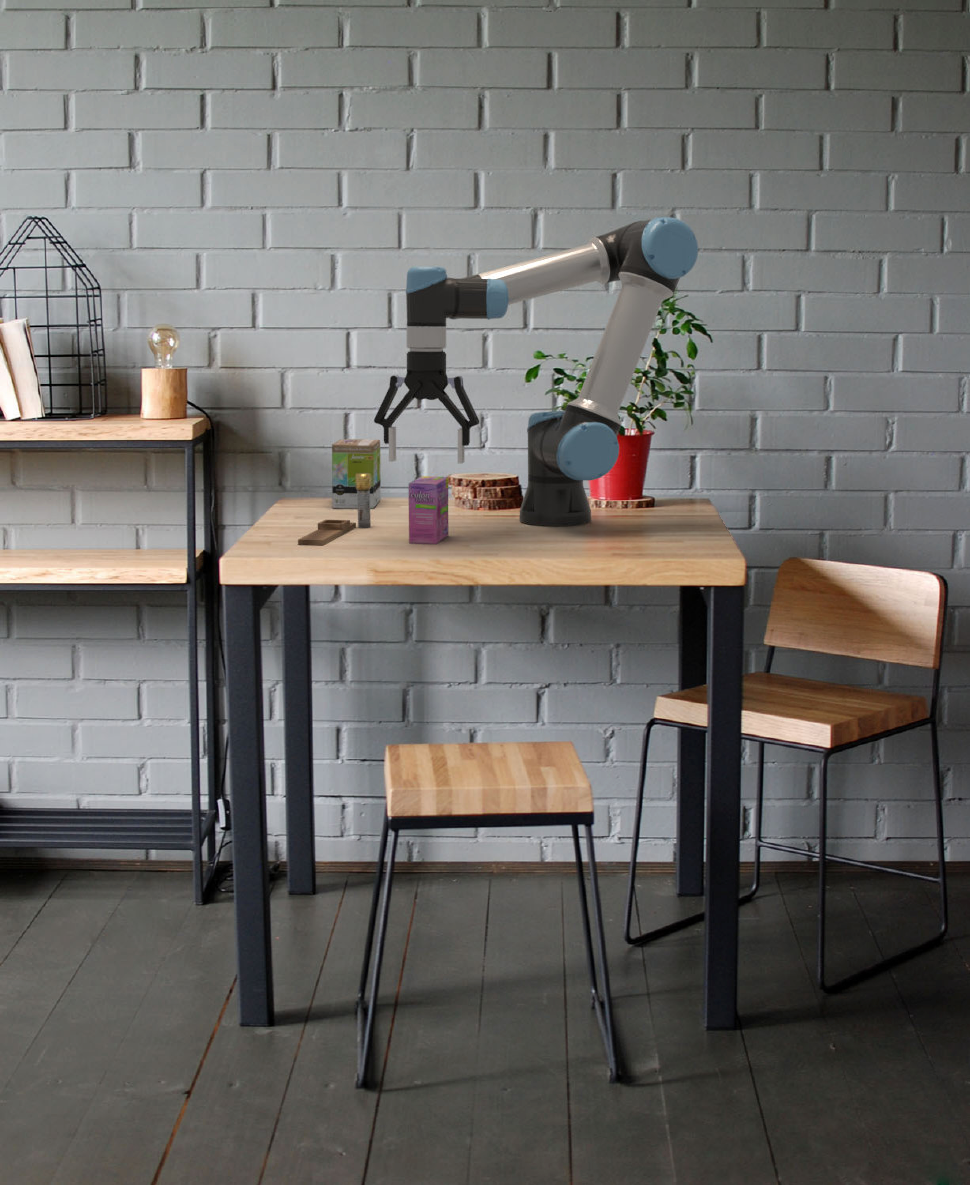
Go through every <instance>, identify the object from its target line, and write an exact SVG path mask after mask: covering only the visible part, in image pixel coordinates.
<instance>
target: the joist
mask: <svg viewBox="0 0 970 1185" xmlns="http://www.w3.org/2000/svg"><path fill="white" fill-rule="evenodd" d="M356 528H357V523H356V522H351V520H350V519H323V520H322V521H320V522H318V523H317V529H316V530H314V531H312V532H310V533H308V534H306V535H305V536H302V537H300V538H298V539H297V544H298V545H300V546H301V545H302V546H324V545H326V544H328V543H330V542H332V541H334V540H336V539H338V538H339V537H341V536H343V535H345V534H347V533H348V532H350V531H353V530H354V529H356Z"/></svg>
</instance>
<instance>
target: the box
mask: <svg viewBox="0 0 970 1185" xmlns="http://www.w3.org/2000/svg"><path fill="white" fill-rule="evenodd" d="M449 530H450V529H449V476H431V475H429V476H427V475H426V476H424V475H423V476H420V477H418V478H416V479H415V480H412V481H410V482H408V544H415V545H417V544H418V545H420V544H421V545H437V544H438V543H439V542H441V541H442V540H443V539H445V538H446V537H448V536H449Z"/></svg>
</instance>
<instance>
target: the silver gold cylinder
mask: <svg viewBox="0 0 970 1185" xmlns="http://www.w3.org/2000/svg"><path fill="white" fill-rule="evenodd" d="M356 489H357V505H358V508H357V528H360V529H368V528H371V525H372V524H371V508H370V489H371V480H370V474H369V473H359V474H356Z"/></svg>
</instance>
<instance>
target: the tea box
mask: <svg viewBox="0 0 970 1185" xmlns="http://www.w3.org/2000/svg"><path fill="white" fill-rule="evenodd" d="M331 458H332V459H331V478H332V480H331V482H332V484H331V485H332V486H331V487H332V488H331V490H332V492H331V494H332V495H331V496H332V497H331V502H332V504H331V505H332V508H333V509H358V505H357V489H356V474H359V473H369V474H370V480H371V489H370V509H374V508H375V507H376V505H378V503H379V501H381V496H382V495H381V492H382V490H381V489H382V488H381V487H382V486H381V441H380V439H372V438H371V439H370V438H369V439H368V438H367V439H365V438H364V439H363V438H362V439H361V438H360V439H359V438H358V439H355V438H353V439H352V438H351V439H349V438H347V439H339V440H337V441H336V442H334V443H333V444H332V445H331Z"/></svg>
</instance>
